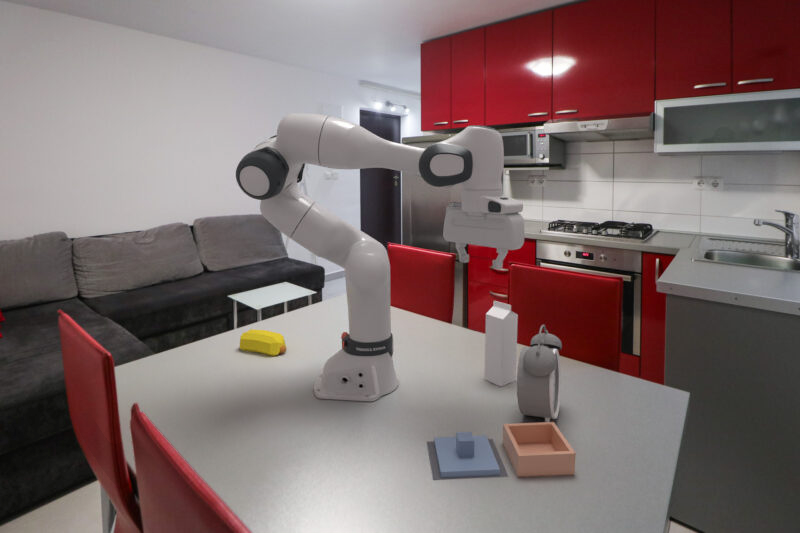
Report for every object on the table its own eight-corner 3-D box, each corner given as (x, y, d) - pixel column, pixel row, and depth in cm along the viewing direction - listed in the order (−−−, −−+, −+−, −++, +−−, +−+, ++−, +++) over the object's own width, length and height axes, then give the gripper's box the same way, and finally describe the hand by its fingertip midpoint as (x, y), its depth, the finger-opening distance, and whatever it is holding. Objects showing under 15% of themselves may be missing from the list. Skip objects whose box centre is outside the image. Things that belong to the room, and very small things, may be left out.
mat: (433, 482, 82) (433, 479, 82) (426, 444, 94) (426, 441, 94) (508, 479, 83) (508, 476, 83) (492, 441, 95) (492, 438, 95)
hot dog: (249, 343, 153) (233, 351, 146) (247, 324, 152) (231, 332, 145) (293, 350, 146) (278, 359, 139) (291, 331, 145) (276, 339, 138)
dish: (517, 479, 83) (518, 455, 82) (502, 445, 93) (503, 424, 92) (574, 477, 83) (575, 453, 82) (552, 443, 94) (553, 421, 93)
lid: (440, 477, 83) (440, 455, 82) (433, 442, 94) (433, 422, 93) (499, 475, 83) (500, 452, 82) (486, 440, 94) (486, 420, 93)
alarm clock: (553, 439, 95) (558, 342, 90) (512, 430, 99) (515, 336, 94) (561, 403, 109) (566, 318, 105) (525, 396, 113) (529, 313, 109)
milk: (501, 387, 118) (503, 307, 114) (483, 379, 123) (485, 302, 118) (515, 380, 122) (518, 303, 117) (498, 372, 127) (500, 298, 122)
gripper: (437, 202, 103) (437, 260, 106) (512, 205, 88) (509, 274, 91) (455, 200, 107) (455, 257, 110) (530, 204, 92) (527, 269, 95)
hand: (480, 265), depth 100 cm, fingers open, 8 cm apart
